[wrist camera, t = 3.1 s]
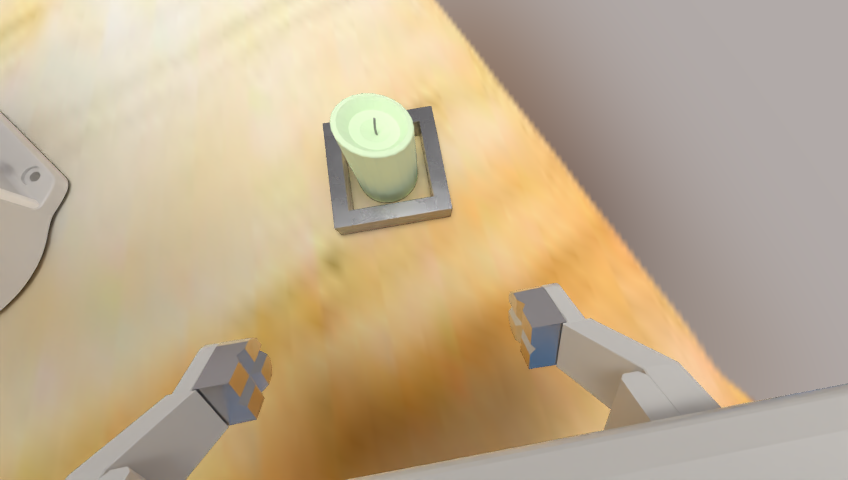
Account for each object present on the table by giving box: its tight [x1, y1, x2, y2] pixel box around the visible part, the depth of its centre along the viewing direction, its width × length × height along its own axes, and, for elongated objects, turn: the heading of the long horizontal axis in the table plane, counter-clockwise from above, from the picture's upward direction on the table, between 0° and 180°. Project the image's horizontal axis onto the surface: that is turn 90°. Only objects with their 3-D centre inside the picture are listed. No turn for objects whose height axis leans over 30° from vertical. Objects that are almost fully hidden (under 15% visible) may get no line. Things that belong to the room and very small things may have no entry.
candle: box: [330, 93, 418, 203], centre depth 22 cm, size 5×5×8 cm
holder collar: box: [323, 106, 452, 235], centre depth 25 cm, size 9×9×2 cm
